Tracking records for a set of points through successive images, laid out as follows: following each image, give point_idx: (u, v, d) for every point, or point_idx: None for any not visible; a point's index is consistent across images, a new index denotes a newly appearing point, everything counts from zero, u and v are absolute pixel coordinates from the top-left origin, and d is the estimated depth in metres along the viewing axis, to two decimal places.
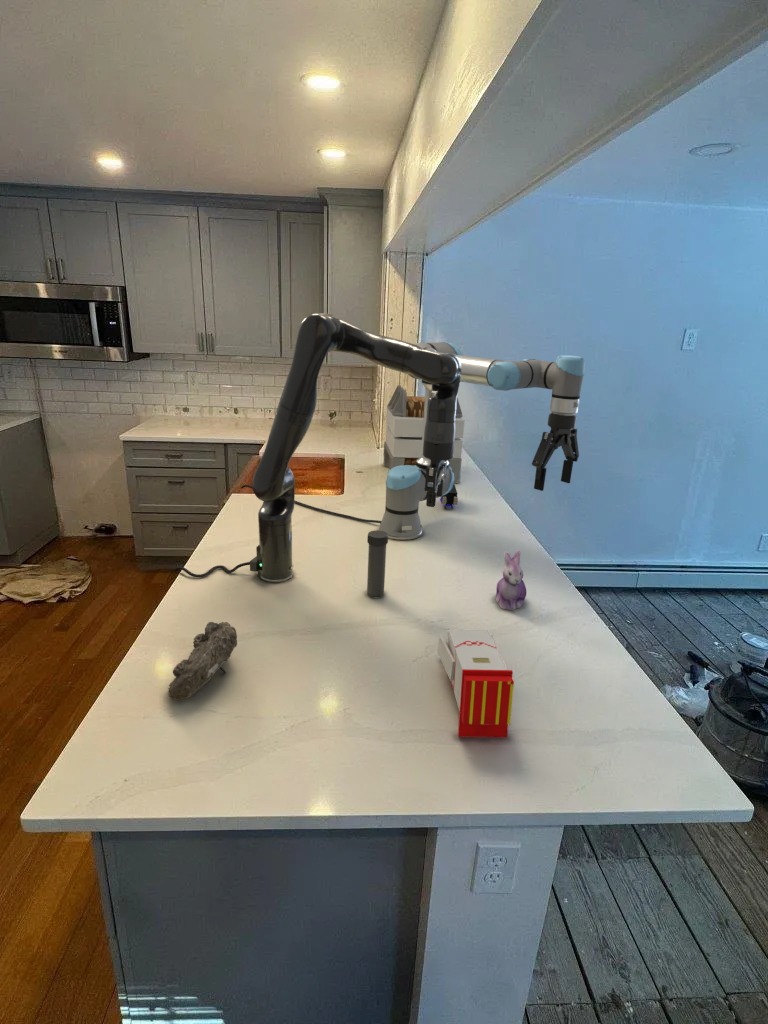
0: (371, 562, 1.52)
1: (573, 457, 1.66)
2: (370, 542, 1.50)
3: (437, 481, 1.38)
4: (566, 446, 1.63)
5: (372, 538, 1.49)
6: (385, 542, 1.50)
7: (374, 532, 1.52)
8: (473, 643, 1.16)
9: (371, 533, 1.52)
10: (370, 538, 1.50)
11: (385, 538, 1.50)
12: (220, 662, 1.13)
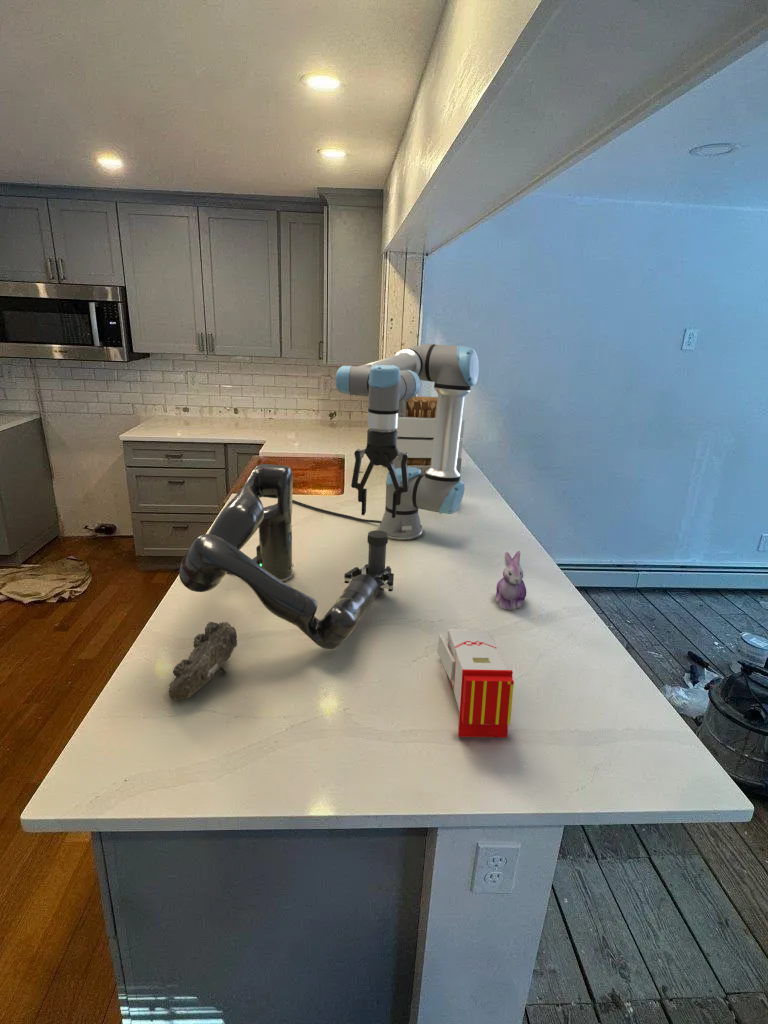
0: (371, 562, 1.52)
1: None
2: (370, 542, 1.50)
3: (383, 575, 1.50)
4: None
5: (372, 538, 1.49)
6: (385, 542, 1.50)
7: (374, 532, 1.52)
8: (473, 643, 1.16)
9: (371, 533, 1.52)
10: (370, 538, 1.50)
11: (385, 538, 1.50)
12: (220, 662, 1.13)
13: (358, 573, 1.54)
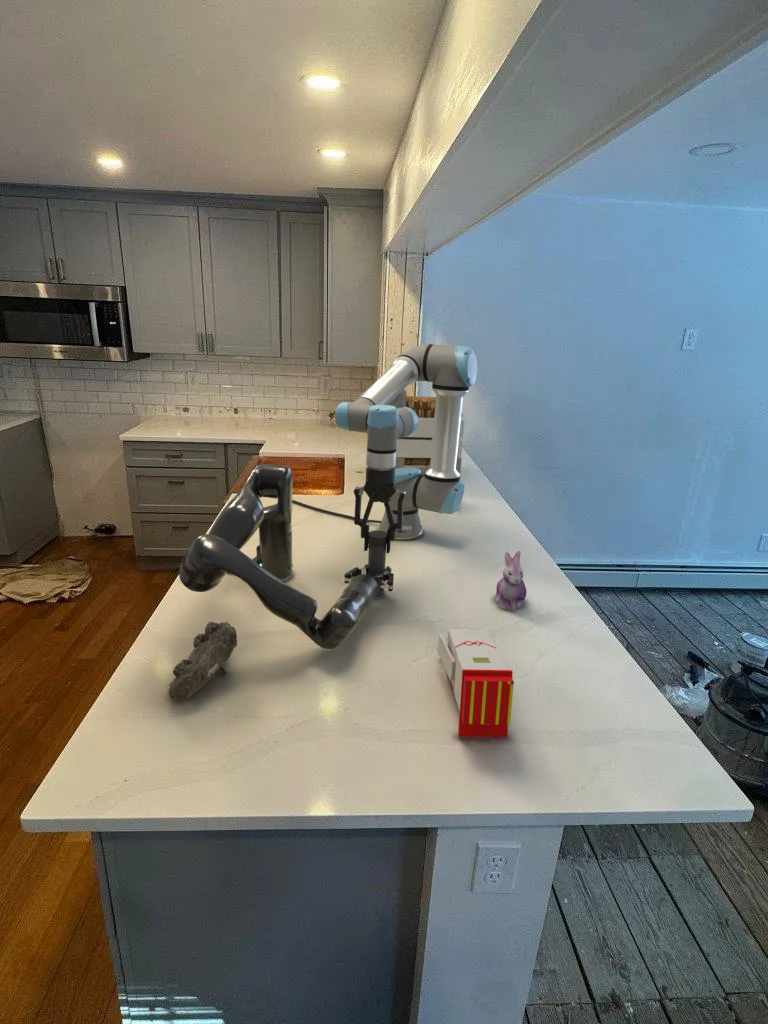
0: (371, 562, 1.52)
1: None
2: (370, 542, 1.50)
3: (383, 575, 1.50)
4: None
5: (372, 538, 1.49)
6: (385, 542, 1.50)
7: (374, 532, 1.52)
8: (473, 643, 1.16)
9: (371, 533, 1.52)
10: (370, 538, 1.50)
11: (385, 538, 1.50)
12: (220, 662, 1.13)
13: (358, 573, 1.54)
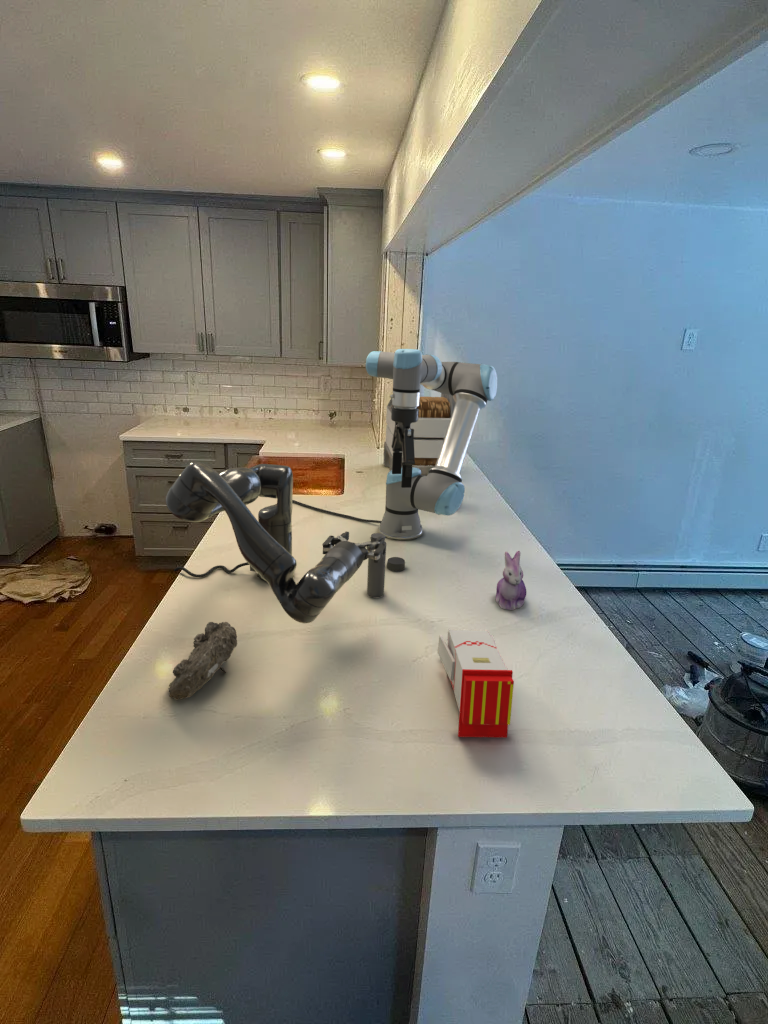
0: (371, 562, 1.52)
1: (403, 460, 1.55)
2: None
3: (371, 545, 1.32)
4: None
5: None
6: (387, 564, 1.74)
7: (400, 561, 1.73)
8: (473, 643, 1.16)
9: (401, 559, 1.74)
10: None
11: (387, 561, 1.73)
12: (220, 662, 1.13)
13: (333, 542, 1.36)
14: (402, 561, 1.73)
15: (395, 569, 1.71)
